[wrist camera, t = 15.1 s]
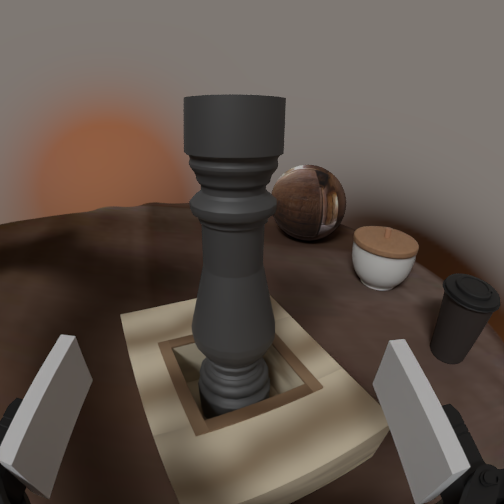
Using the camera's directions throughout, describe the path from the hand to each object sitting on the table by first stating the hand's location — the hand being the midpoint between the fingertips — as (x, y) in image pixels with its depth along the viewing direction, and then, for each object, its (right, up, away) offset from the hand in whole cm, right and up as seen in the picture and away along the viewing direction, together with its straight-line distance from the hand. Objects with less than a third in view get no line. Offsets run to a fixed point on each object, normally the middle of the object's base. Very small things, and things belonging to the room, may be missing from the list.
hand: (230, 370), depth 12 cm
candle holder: (-1, -9, +15) cm, 18 cm away
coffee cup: (+26, -8, +22) cm, 35 cm away
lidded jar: (+22, 0, +38) cm, 44 cm away
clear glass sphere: (+12, +8, +53) cm, 55 cm away
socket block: (-1, -10, +15) cm, 18 cm away
